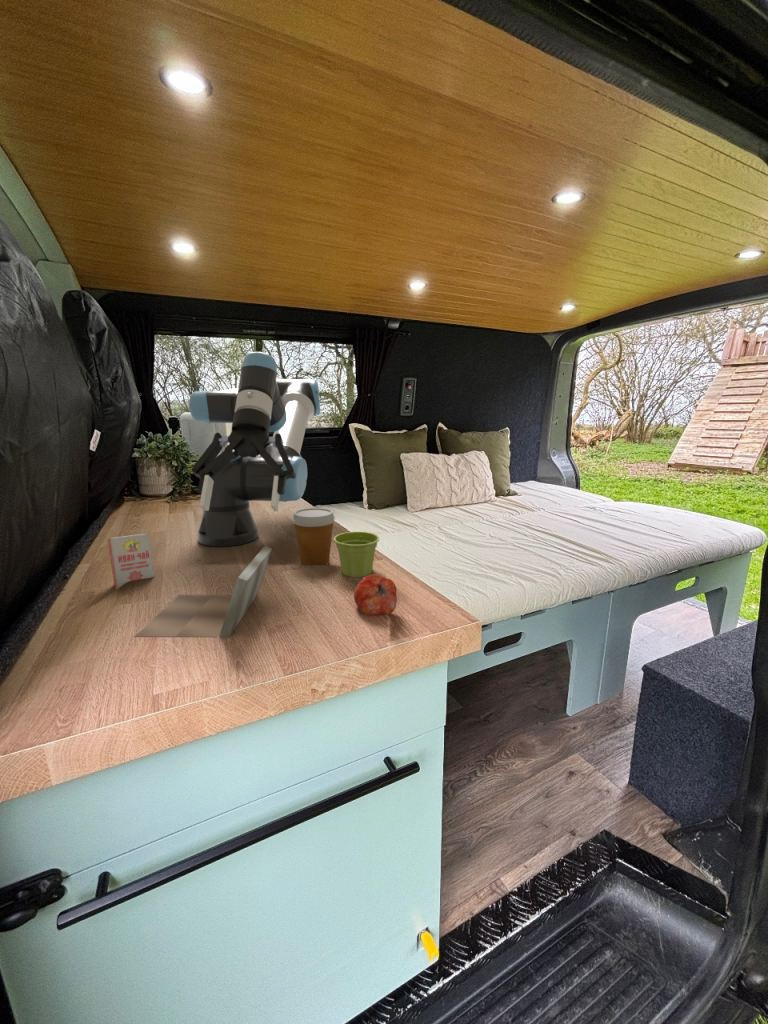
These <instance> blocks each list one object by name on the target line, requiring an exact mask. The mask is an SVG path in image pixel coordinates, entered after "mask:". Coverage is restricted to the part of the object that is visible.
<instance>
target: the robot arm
mask: <svg viewBox="0 0 768 1024" xmlns="http://www.w3.org/2000/svg"><path fill="white" fill-rule="evenodd" d="M277 370H278V364H277V362H276V360H275V359H274V358H273V357H272V356H271V355H269V354H268V353H265V352H262V351H253V352H249V353H247V354H246V355H245V356H244V358H243V361H242V365H241V367H240V376H239V383H238V387H233V388H228V389H222V390H215V391H213V390H211V391H209V390H208V391H207V390H202V391H201V390H199V391H197V390H196V391H193V392H192V393H191V395H190V397H189V401H188V402H189V403H188V406H189V411H190V415H191V416H192V418H193V420H194V421H195V422H197V423H206V424H218V423H219V424H231V431H230V434H229V435H222V434H221V433H220V432H216V433H214V436H213V439H212V441H211V443H210V444H209V445H208V447H207V448H206V449H205V450H204V452H203V453H202V454H201V456H200V457H199V459H197V461H196V462H195V464H194V465H193V466H192V467H191V472H192V473H193V474H194V476H196V478H199V483H198V487H197V490H198V492H199V493H200V494H201V495H200V499H199V507H200V508H201V509H202V517H201V520H200V523H199V527H198V528H199V529H198V533H197V535H198V542H199V543H200V544H201V545H204V546H207V547H208V546H209V547H230V546H231V547H232V546H238V545H243V544H246V543H250V542H252V541H254V540H255V541H256V539H257V538H258V537H259V529H258V525H257V523H256V521H255V517H254V515H253V514H252V511H251V509H250V502H251V501H253V502H254V501H255V502H270V507H271V509H272V510H273V511H274V512H279V503H280V502H282V503H286V502H293V501H294V502H295V501H298V500H300V499H301V498H303V495H304V493H305V491H306V486H307V480H308V465H307V461H306V459H305V458H303V457H302V455H301V450H302V446H303V442H304V437H305V434H306V433H305V432H306V429H307V425H308V422H310V421H311V420H312V418H313V417H314V416H319V415H320V414H321V402H320V400H321V399H320V392H319V391H320V389H319V384H318V381H317V380H316V379H312V378H307V377H305V378H277V377H278V371H277ZM270 433H273V435H272V436H270ZM228 443H229V444H228ZM227 444H228V445H227ZM226 445H227V446H226ZM223 448H224V450H223V451H222V449H223ZM221 451H222V452H221Z"/></svg>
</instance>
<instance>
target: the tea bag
mask: <svg viewBox="0 0 768 1024" xmlns="http://www.w3.org/2000/svg"><path fill="white" fill-rule="evenodd" d="M107 543H108V548H109V549H108V550H109V558H110V559H109V560H110V566H111V570H112V571H111V572H112V578H113V582H114V583H113V584H114V590H115V591H117V590H118V589H120V588H121V587H123V586H124V585H125V584H126V583H128V582H132V581H138V580H144V579H149V578H155V571H154V561H153V553H152V547H151V539H150V533H140V534H131V535H125V536H116V537H115V536H114V537H108V538H107Z"/></svg>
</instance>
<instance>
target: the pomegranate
mask: <svg viewBox="0 0 768 1024" xmlns="http://www.w3.org/2000/svg"><path fill="white" fill-rule="evenodd" d="M353 591H354V592H353V599H354V603H355V604H356V605H357V609H358V611H359V612H361V613H363V614H364V615H369V616H379V615H387V616H390V615H391V614H392V613H394V611H395V609H397V601H398V597H397V586H396V584H395V583H394V581H393V580H392V579H390V578H388V577H384V576H382V575H381V574H377V573H373V574H372V573H370V574H369V575H366V576H363V578H362V579H361V580H360V581H359V582H358V583H357V586H356V587H355V588H354V590H353Z"/></svg>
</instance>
